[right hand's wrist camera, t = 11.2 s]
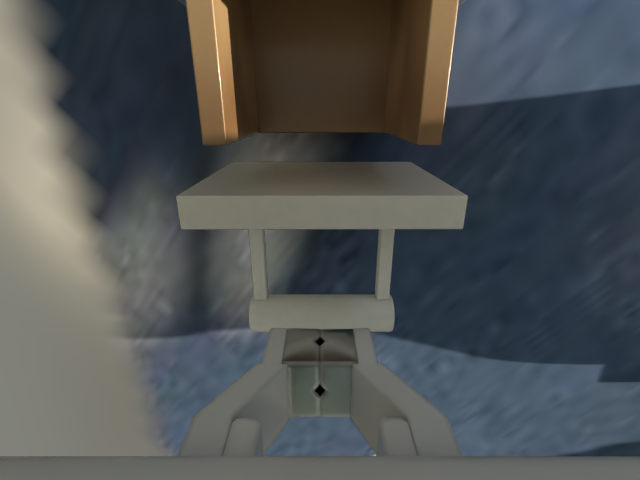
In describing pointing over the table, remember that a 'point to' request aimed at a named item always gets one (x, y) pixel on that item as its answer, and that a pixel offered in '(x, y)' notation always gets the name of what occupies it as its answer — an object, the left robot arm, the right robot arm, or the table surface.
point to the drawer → (322, 117)
